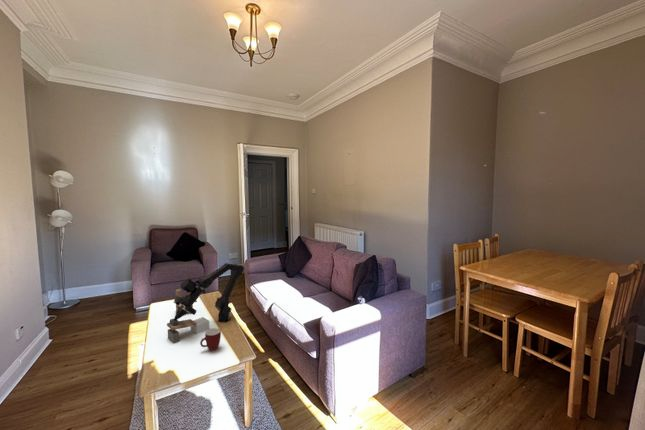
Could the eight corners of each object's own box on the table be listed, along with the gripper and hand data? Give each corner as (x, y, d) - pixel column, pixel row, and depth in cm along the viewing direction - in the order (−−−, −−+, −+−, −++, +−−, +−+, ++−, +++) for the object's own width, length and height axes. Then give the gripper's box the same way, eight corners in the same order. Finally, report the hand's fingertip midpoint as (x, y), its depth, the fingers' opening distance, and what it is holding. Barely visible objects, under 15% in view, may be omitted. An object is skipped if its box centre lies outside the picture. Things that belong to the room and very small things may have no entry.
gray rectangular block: (203, 325, 176) (202, 316, 176) (209, 328, 171) (209, 320, 171) (167, 338, 160) (167, 329, 159) (173, 343, 155) (173, 334, 154)
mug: (202, 356, 142) (202, 338, 142) (199, 349, 149) (198, 332, 148) (223, 349, 149) (222, 332, 148) (218, 343, 155) (218, 326, 154)
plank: (190, 321, 169) (191, 315, 170) (196, 325, 164) (197, 318, 165) (166, 325, 159) (167, 318, 159) (172, 330, 154) (173, 323, 154)
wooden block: (192, 313, 192) (191, 289, 191) (175, 315, 189) (174, 291, 187) (193, 311, 196) (192, 287, 194) (176, 313, 192) (175, 289, 191)
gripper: (176, 286, 167) (157, 309, 159) (190, 293, 155) (170, 318, 147) (189, 295, 173) (172, 317, 166) (204, 302, 162) (185, 327, 154)
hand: (174, 319), depth 158 cm, fingers closed, pressing on plank
